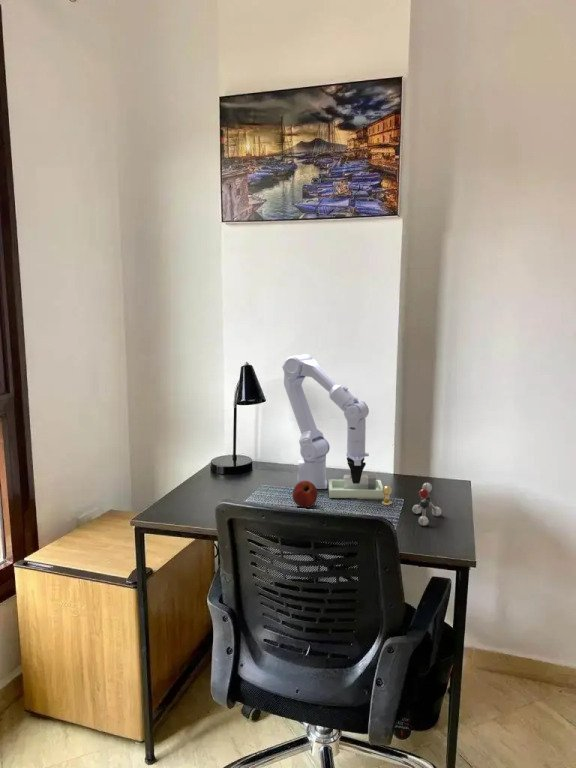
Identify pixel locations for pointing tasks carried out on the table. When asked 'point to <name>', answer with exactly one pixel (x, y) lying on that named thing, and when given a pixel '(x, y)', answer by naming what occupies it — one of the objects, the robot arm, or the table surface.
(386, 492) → the door knob
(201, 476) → the table surface
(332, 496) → the tray
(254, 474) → the table surface
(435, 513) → the molecular model
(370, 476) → the strut
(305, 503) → the apple
